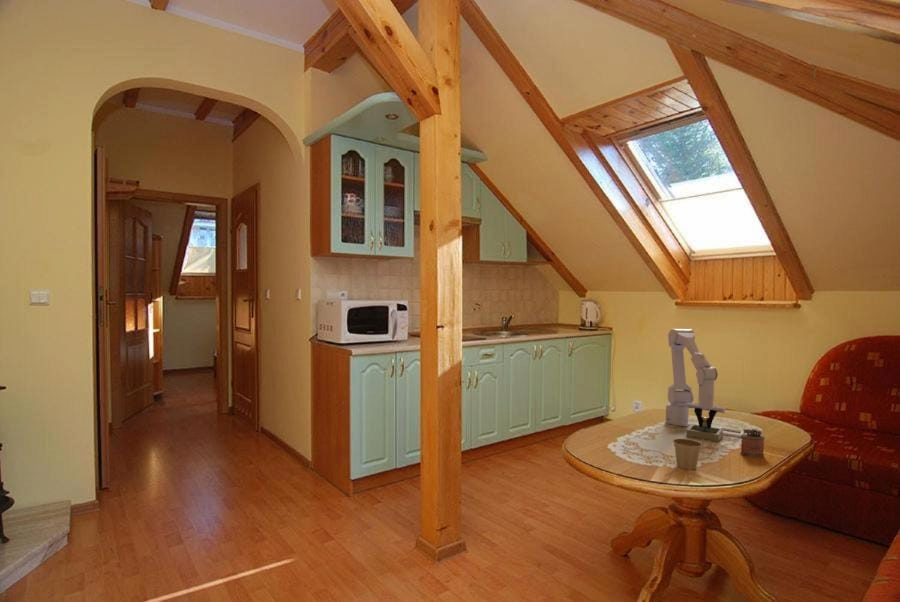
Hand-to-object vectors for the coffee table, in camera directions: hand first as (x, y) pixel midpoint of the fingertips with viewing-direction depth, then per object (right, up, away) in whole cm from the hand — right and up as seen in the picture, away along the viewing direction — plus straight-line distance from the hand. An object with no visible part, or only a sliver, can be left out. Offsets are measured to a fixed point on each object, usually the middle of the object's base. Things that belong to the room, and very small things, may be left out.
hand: (704, 427), depth 217 cm
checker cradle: (+14, -4, +6) cm, 16 cm away
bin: (0, -4, 0) cm, 4 cm away
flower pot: (-26, -4, -39) cm, 47 cm away
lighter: (+5, -5, -25) cm, 26 cm away
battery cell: (0, -2, 0) cm, 2 cm away
